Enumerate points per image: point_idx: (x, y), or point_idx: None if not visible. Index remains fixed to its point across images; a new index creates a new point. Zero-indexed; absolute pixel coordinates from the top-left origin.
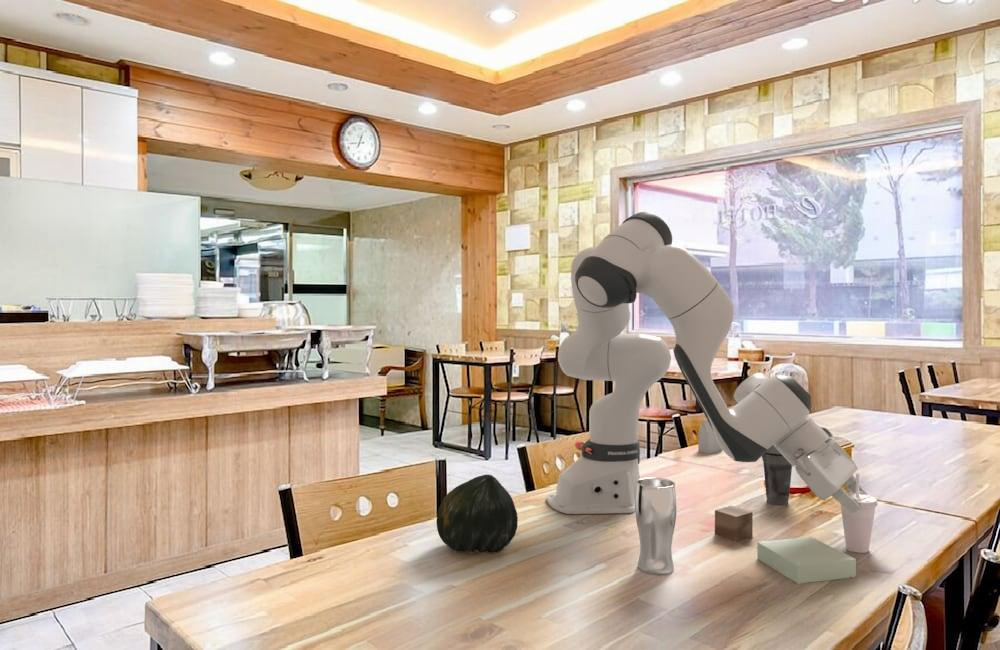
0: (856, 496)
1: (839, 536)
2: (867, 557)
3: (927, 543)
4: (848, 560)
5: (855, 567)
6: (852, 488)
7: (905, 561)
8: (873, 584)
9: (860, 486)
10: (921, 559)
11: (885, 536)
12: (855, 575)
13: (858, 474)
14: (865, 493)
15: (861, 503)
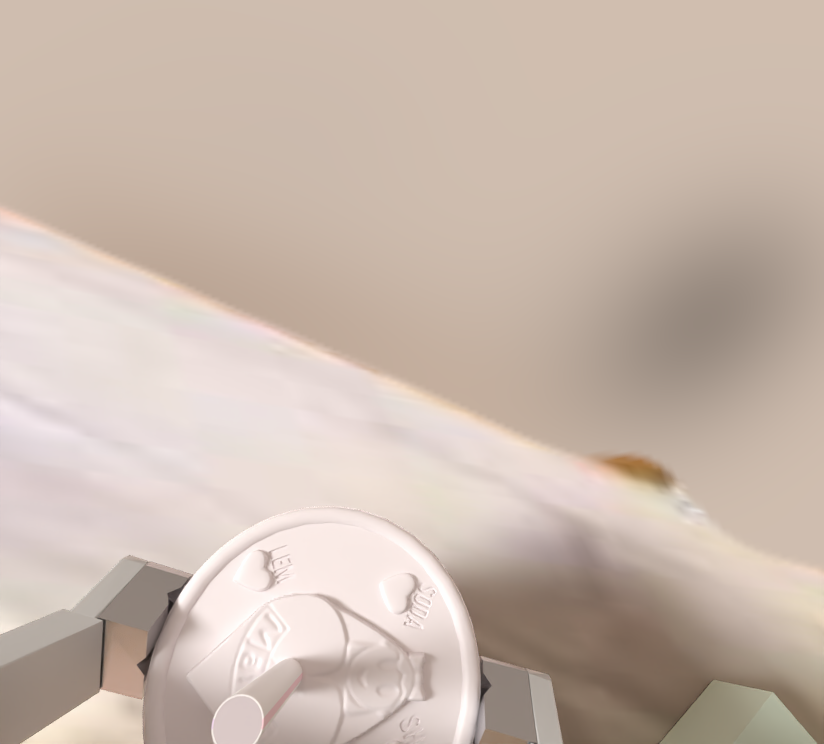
0: (317, 688)
1: (142, 731)
2: None
3: (169, 334)
4: (807, 734)
5: (746, 687)
6: (28, 715)
7: (423, 450)
8: (745, 609)
9: (55, 629)
10: (376, 390)
11: (100, 481)
12: (718, 681)
13: (267, 710)
14: (139, 583)
15: (474, 650)
